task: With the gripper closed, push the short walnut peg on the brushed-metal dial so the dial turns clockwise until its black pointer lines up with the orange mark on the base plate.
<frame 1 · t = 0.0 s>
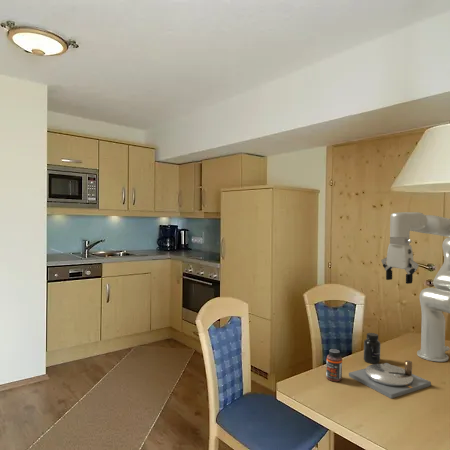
hand: (398, 281, 157), 37 cm above the table, tool pointing down, fingers open, 9 cm apart
dial: (388, 368, 144), point 5 cm above the table, hinge at 50.0°
supplement bottle: (371, 361, 164), on the table
base plate: (388, 380, 144), on the table
supplement bottle 2: (333, 379, 146), on the table
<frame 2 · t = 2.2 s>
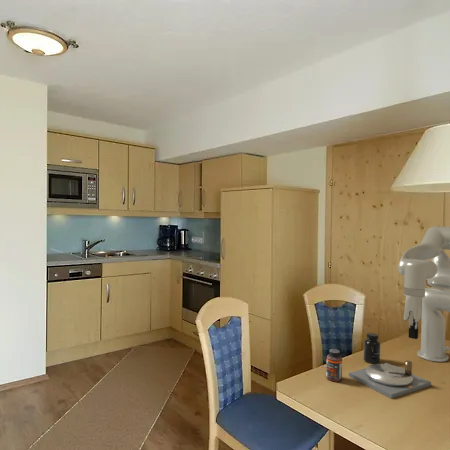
hand: (413, 337, 147), 16 cm above the table, tool pointing down, fingers closed
nothing on the table moved.
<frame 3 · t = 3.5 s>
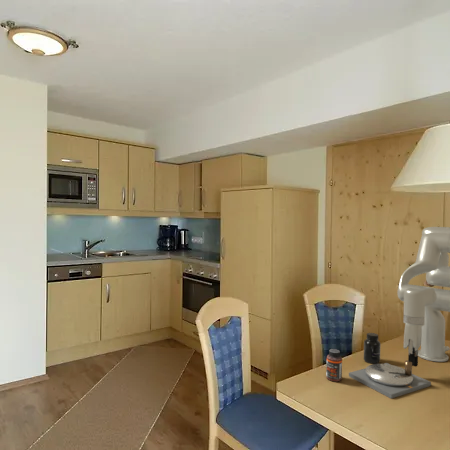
hand: (412, 364, 147), 5 cm above the table, tool pointing down, fingers closed
nothing on the table moved.
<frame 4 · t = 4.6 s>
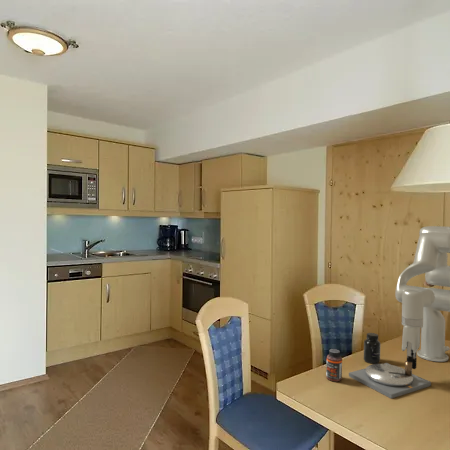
hand: (411, 367, 145), 5 cm above the table, tool pointing down, fingers closed
dial: (388, 368, 144), point 5 cm above the table, hinge at 48.3°, touching gripper
everything else where it was.
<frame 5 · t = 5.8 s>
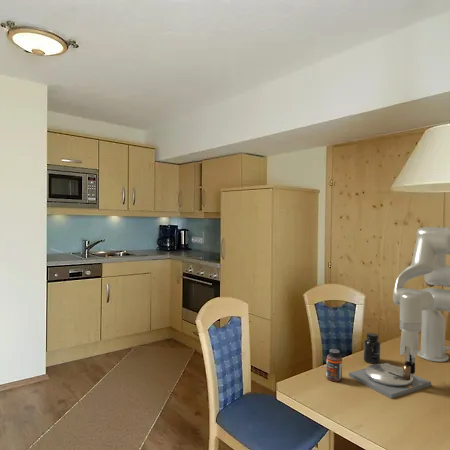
hand: (409, 372, 141), 5 cm above the table, tool pointing down, fingers closed
dial: (388, 368, 144), point 5 cm above the table, hinge at 10.5°, touching gripper
everything else where it was.
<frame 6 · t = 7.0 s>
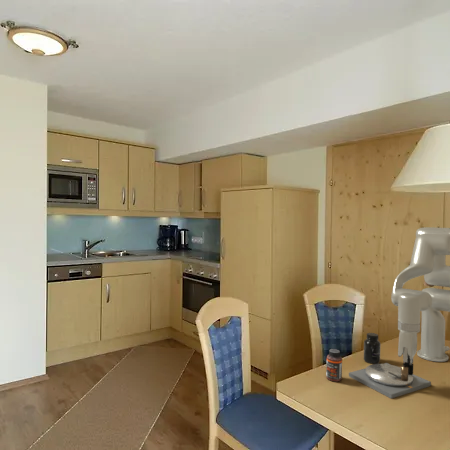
hand: (408, 373, 140), 5 cm above the table, tool pointing down, fingers closed
dial: (388, 368, 144), point 5 cm above the table, hinge at -1.3°, touching gripper
everything else where it was.
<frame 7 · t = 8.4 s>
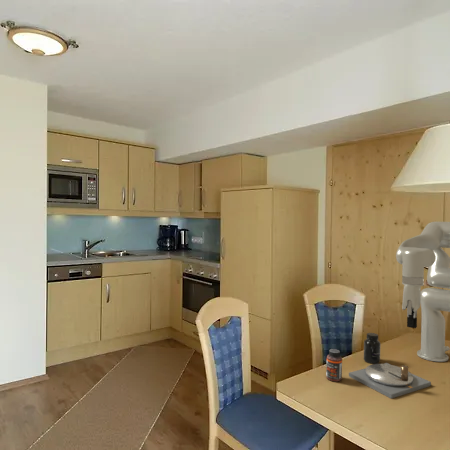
hand: (411, 327, 145), 21 cm above the table, tool pointing down, fingers closed
dial: (388, 368, 144), point 5 cm above the table, hinge at -1.4°
everything else where it was.
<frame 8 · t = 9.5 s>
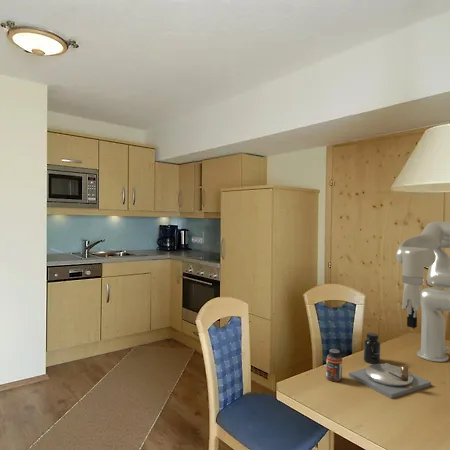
hand: (411, 326, 145), 21 cm above the table, tool pointing down, fingers closed
nothing on the table moved.
at the end: dial at -1° (first picture: +50°); supplement bottle moved 0.2 cm from its start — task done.
